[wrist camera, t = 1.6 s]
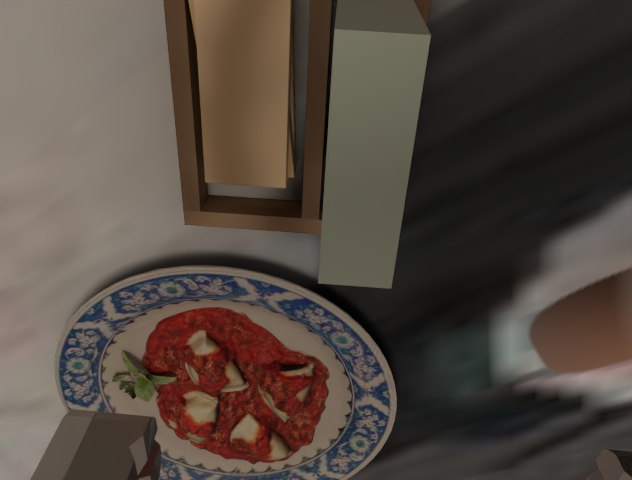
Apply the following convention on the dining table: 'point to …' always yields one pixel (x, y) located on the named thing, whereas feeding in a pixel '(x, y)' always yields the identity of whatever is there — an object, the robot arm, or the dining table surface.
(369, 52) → the grey-green rectangular block
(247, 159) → the offcut stack
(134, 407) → the ceramic plate
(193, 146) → the walnut rack
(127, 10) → the dining table surface
